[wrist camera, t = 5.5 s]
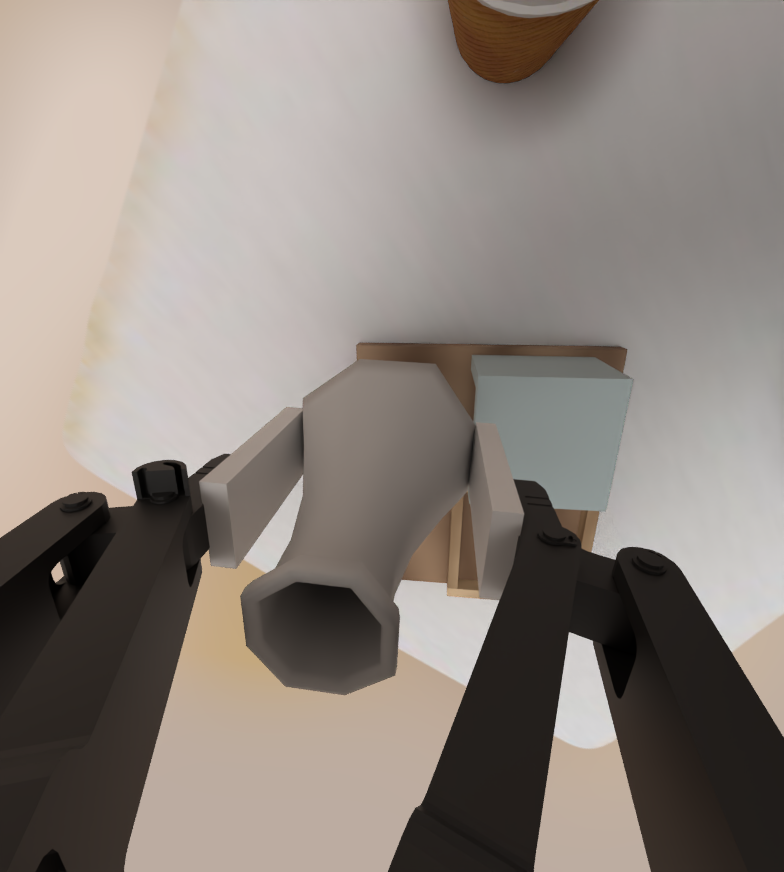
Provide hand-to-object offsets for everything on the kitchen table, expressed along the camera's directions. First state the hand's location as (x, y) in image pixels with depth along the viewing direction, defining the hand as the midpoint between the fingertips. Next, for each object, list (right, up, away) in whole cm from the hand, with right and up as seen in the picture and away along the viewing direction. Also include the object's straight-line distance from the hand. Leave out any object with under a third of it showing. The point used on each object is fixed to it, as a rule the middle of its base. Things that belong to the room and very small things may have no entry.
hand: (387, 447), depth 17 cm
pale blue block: (+10, +2, +13) cm, 16 cm away
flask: (0, 0, +1) cm, 1 cm away
